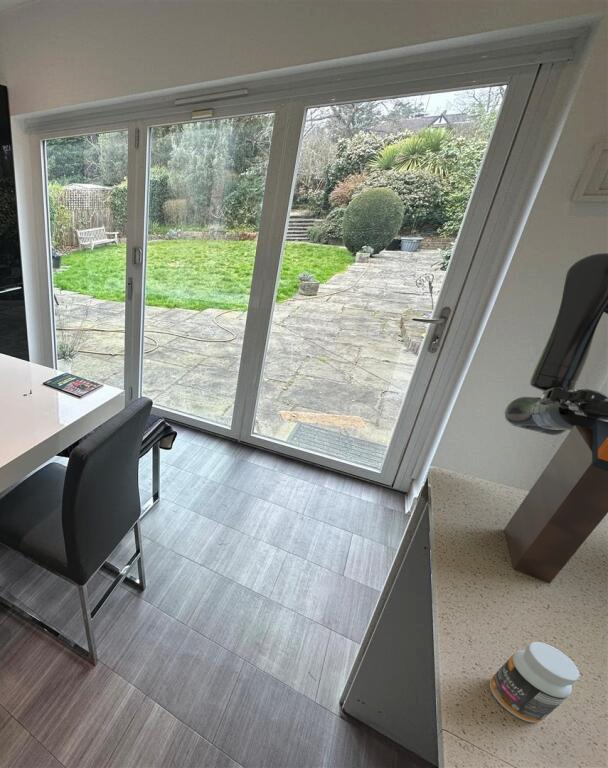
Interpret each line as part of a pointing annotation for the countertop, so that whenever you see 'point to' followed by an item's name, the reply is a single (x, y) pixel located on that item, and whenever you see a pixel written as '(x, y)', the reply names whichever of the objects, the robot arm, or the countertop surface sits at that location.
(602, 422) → the back pad
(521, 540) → the walnut stand
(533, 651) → the pill bottle
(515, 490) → the countertop surface
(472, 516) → the countertop surface
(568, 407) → the robot arm
